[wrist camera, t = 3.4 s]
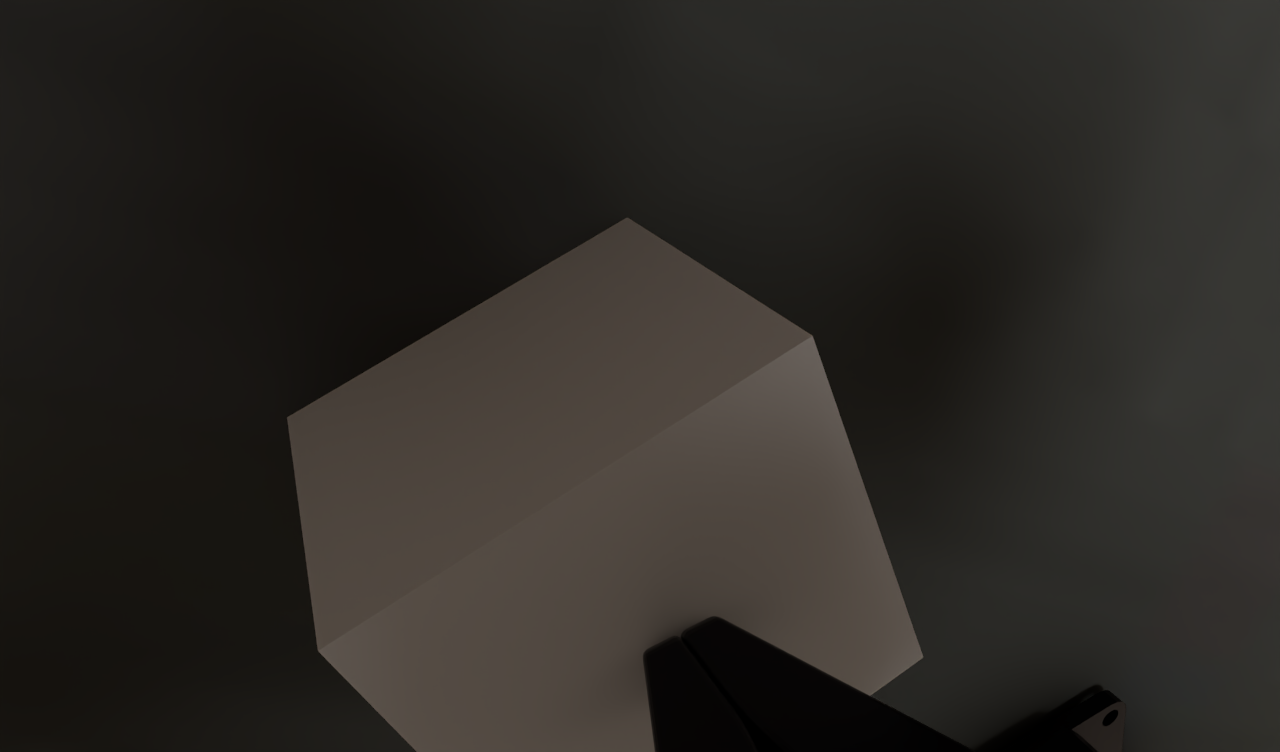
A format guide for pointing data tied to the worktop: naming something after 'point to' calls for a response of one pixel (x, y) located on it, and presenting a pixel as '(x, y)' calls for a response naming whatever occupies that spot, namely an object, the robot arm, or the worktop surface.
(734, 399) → the grey block
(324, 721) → the worktop surface
